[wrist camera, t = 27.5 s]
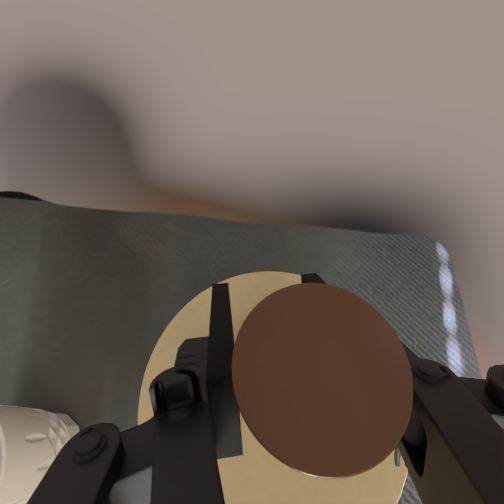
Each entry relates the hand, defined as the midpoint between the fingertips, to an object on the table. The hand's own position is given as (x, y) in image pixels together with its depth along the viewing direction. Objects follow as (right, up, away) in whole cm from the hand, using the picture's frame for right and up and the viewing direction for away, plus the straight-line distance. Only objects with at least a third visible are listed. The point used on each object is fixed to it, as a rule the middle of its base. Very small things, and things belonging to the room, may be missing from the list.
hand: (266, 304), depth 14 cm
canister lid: (0, -5, +1) cm, 5 cm away
